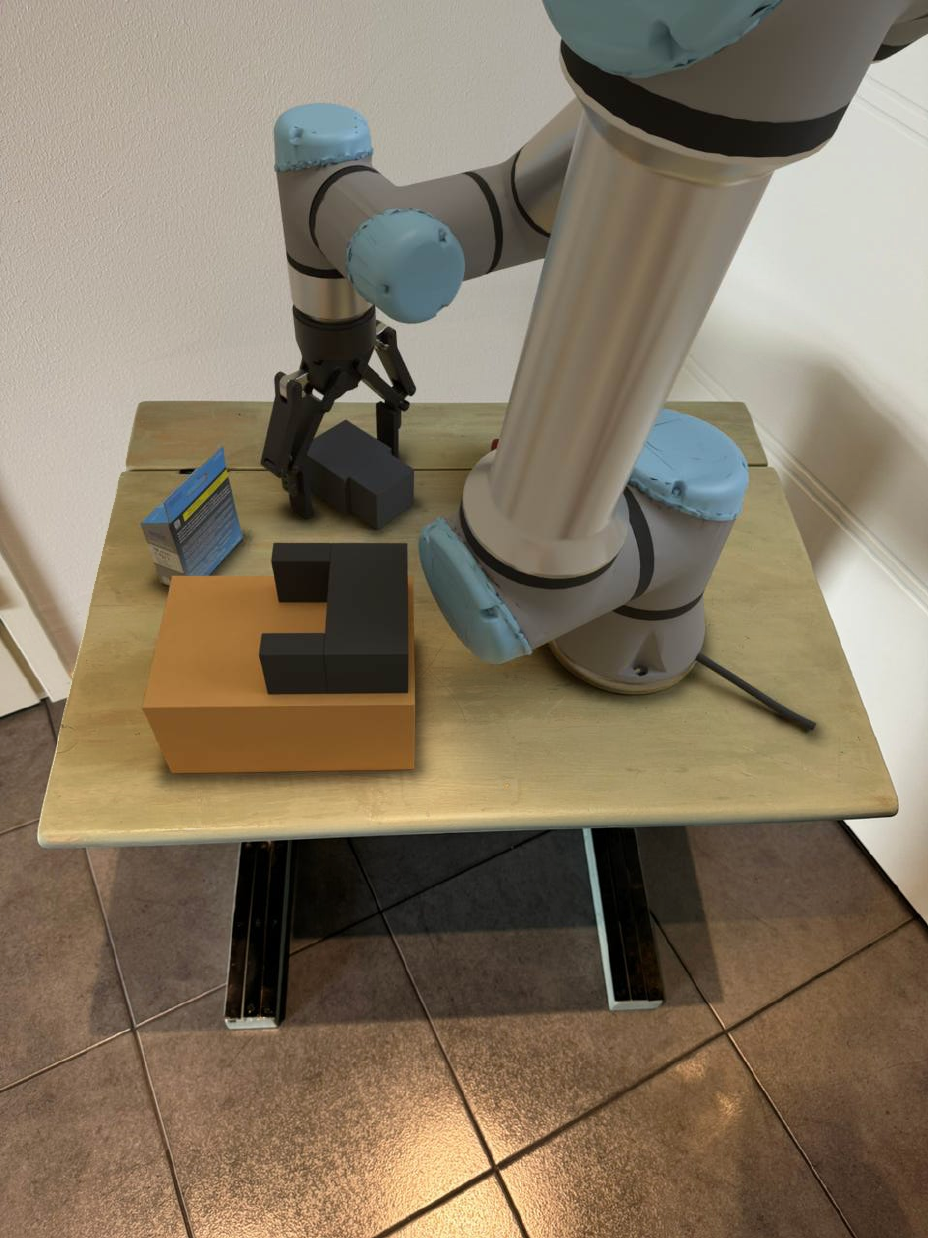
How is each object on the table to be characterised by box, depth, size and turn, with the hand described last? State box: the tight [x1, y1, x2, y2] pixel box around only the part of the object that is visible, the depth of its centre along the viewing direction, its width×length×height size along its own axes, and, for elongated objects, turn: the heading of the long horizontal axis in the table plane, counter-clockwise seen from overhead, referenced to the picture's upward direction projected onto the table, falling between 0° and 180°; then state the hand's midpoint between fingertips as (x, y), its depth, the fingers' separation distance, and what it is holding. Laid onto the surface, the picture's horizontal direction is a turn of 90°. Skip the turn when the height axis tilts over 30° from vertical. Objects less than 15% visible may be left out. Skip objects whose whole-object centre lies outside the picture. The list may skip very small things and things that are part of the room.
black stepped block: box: [302, 419, 415, 531], centre depth 89 cm, size 11×7×5 cm, turn 49°
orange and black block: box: [141, 542, 416, 774], centre depth 68 cm, size 20×13×15 cm, turn 93°
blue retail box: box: [140, 445, 244, 587], centre depth 79 cm, size 9×4×12 cm, turn 156°
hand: (346, 482), depth 92 cm, fingers open, 12 cm apart
